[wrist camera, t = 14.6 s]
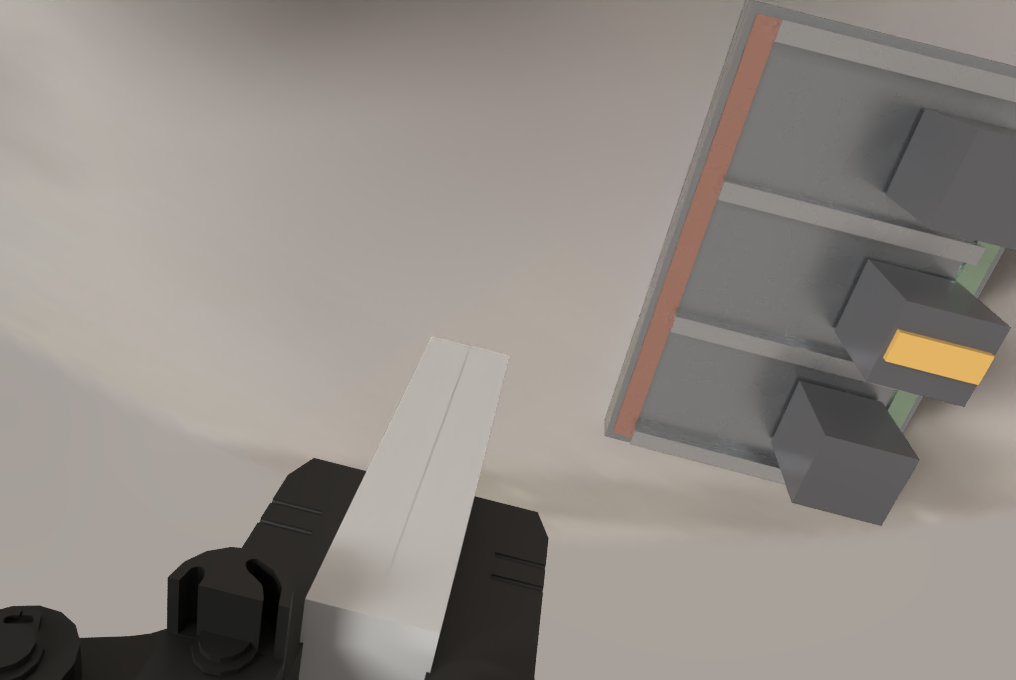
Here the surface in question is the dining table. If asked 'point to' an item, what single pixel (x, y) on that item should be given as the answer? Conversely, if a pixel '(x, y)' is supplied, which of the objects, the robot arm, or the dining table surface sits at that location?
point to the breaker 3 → (919, 333)
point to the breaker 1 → (842, 453)
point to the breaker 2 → (960, 178)
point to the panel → (791, 232)
